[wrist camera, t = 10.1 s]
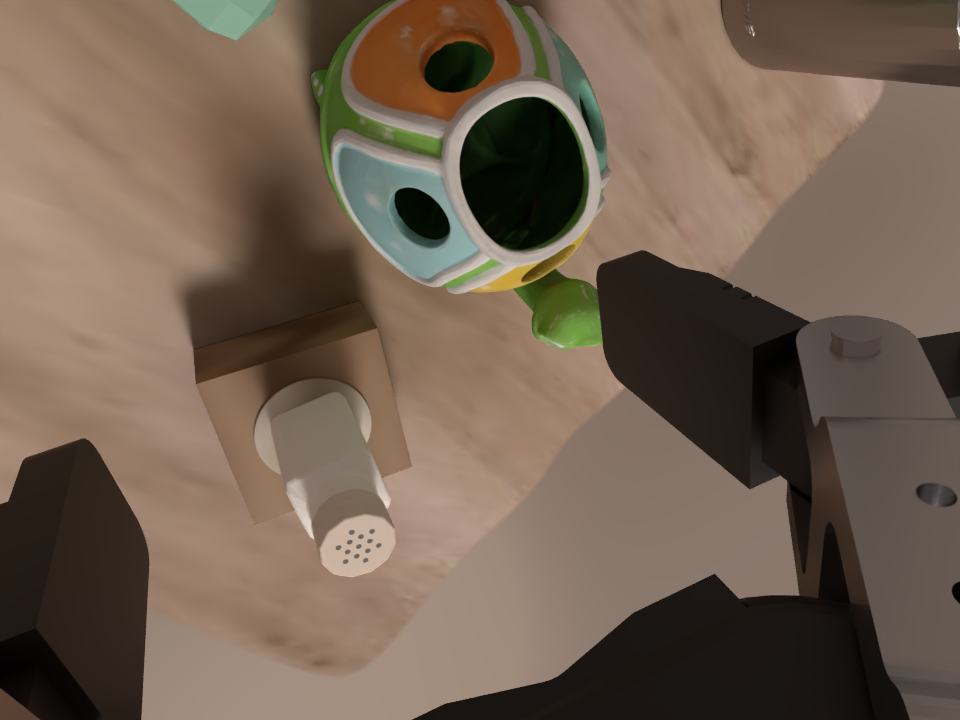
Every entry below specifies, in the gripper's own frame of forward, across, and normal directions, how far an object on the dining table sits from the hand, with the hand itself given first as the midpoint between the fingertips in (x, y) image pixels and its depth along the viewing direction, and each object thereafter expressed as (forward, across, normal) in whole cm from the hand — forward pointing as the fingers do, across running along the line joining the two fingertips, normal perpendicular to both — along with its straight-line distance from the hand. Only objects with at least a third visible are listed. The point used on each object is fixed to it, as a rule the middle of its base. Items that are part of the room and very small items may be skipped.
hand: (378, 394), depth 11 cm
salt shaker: (+22, +1, +14) cm, 26 cm away
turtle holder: (+27, -10, +3) cm, 29 cm away
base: (+26, +2, +14) cm, 30 cm away
